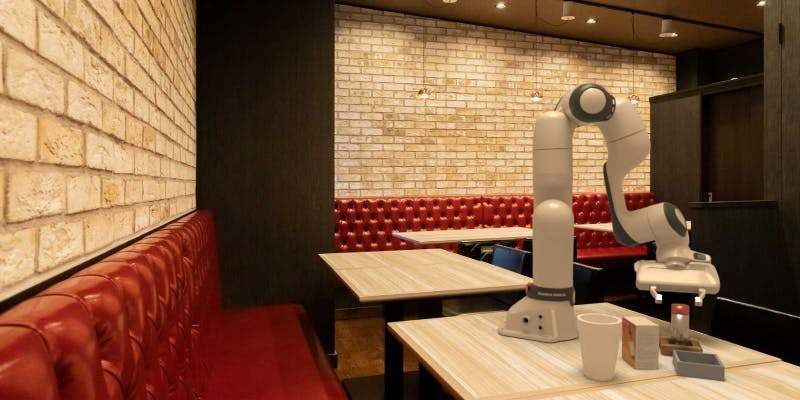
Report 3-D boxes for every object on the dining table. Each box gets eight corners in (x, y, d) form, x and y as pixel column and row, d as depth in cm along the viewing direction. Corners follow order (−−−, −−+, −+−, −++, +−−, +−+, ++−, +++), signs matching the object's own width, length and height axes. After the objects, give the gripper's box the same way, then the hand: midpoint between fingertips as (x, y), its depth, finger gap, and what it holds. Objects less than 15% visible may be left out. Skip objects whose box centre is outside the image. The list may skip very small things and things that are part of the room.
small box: (621, 358, 129) (621, 315, 129) (644, 358, 129) (644, 316, 129) (634, 369, 121) (635, 324, 121) (659, 369, 121) (659, 324, 121)
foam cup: (597, 386, 111) (598, 326, 111) (567, 372, 120) (568, 316, 119) (630, 379, 115) (631, 321, 115) (599, 366, 124) (599, 311, 123)
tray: (677, 375, 117) (677, 361, 117) (672, 362, 126) (672, 349, 126) (724, 381, 114) (724, 367, 114) (716, 367, 122) (716, 354, 122)
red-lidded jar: (671, 353, 132) (672, 306, 132) (670, 348, 136) (670, 303, 136) (689, 355, 131) (690, 307, 131) (687, 350, 135) (688, 304, 134)
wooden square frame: (661, 355, 131) (661, 345, 131) (658, 344, 139) (658, 335, 139) (702, 359, 128) (702, 349, 128) (697, 348, 136) (697, 339, 136)
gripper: (634, 253, 148) (635, 294, 139) (717, 256, 141) (724, 299, 132) (633, 266, 152) (635, 307, 144) (713, 269, 145) (720, 312, 136)
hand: (678, 303), depth 138 cm, fingers open, 8 cm apart
